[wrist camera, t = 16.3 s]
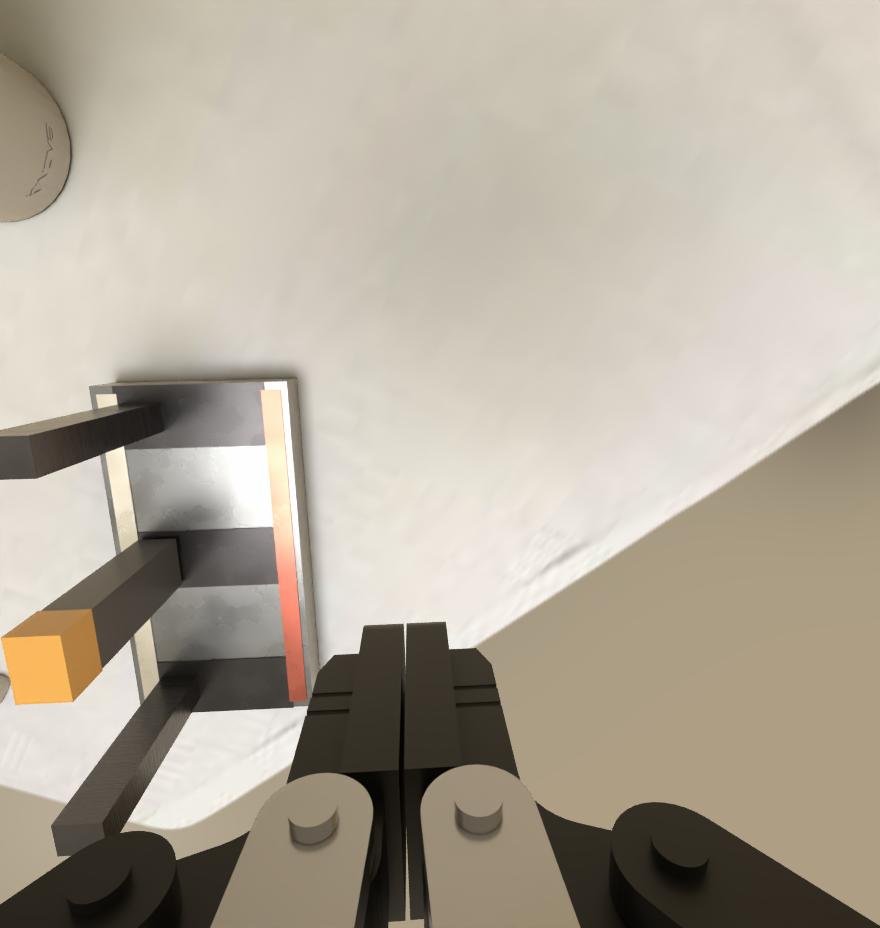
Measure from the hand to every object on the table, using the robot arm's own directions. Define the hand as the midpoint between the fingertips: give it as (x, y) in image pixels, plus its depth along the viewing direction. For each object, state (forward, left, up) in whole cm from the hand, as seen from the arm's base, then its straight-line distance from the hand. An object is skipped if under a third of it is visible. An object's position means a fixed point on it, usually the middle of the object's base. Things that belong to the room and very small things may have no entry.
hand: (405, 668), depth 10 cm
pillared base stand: (-9, -13, -29) cm, 33 cm away
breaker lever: (-12, -14, -26) cm, 31 cm away
